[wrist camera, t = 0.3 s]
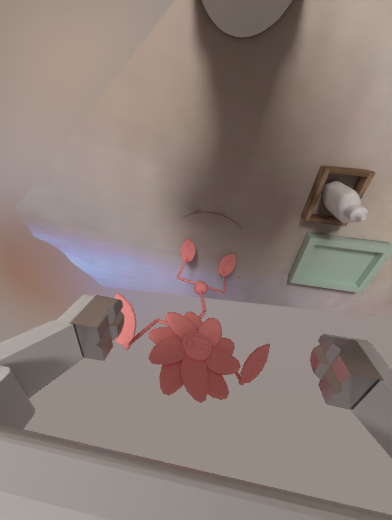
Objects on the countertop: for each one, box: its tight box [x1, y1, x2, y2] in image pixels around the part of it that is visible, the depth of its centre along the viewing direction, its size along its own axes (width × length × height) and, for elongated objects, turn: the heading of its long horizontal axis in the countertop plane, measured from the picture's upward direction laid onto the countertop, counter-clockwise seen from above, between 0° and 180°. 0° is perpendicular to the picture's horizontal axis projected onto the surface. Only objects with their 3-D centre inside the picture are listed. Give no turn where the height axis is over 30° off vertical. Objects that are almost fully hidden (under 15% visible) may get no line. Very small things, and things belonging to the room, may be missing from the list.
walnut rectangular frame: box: [301, 166, 375, 226], centre depth 38 cm, size 10×8×2 cm
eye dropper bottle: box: [322, 181, 368, 223], centre depth 35 cm, size 4×6×12 cm
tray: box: [288, 232, 392, 293], centre depth 46 cm, size 17×13×2 cm
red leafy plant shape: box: [114, 210, 270, 403], centre depth 35 cm, size 15×26×35 cm, turn 71°
